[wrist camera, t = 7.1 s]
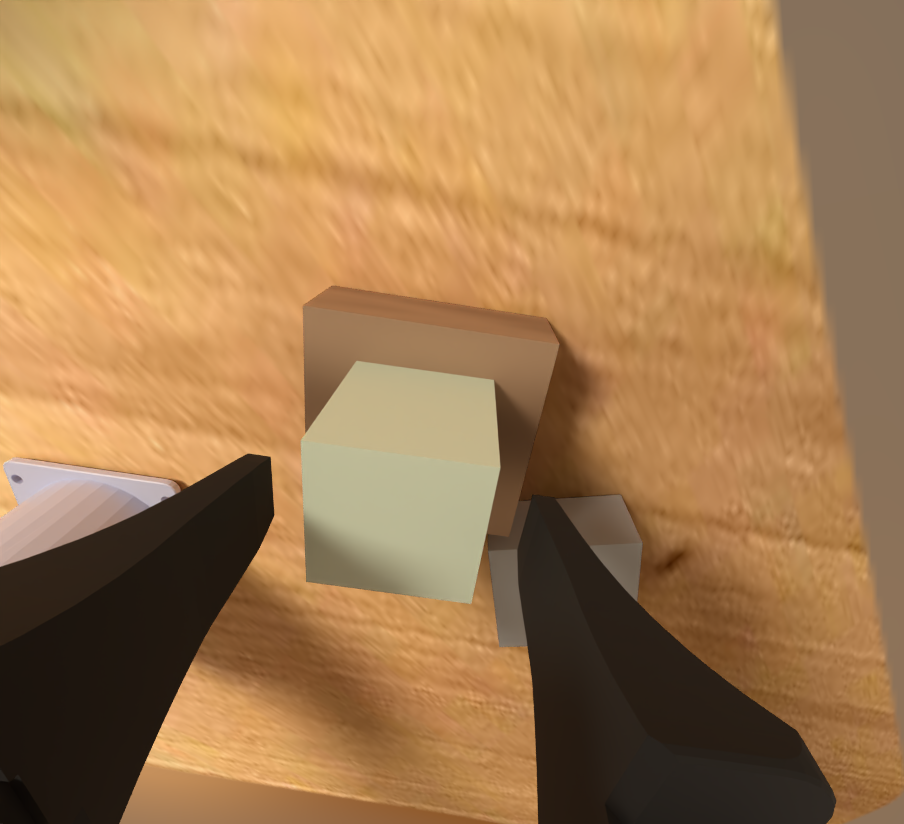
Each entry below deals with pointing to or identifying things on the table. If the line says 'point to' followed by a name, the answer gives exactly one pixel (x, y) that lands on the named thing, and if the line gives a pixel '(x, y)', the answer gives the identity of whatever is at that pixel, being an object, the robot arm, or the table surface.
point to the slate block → (601, 529)
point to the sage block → (401, 482)
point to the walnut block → (438, 363)
